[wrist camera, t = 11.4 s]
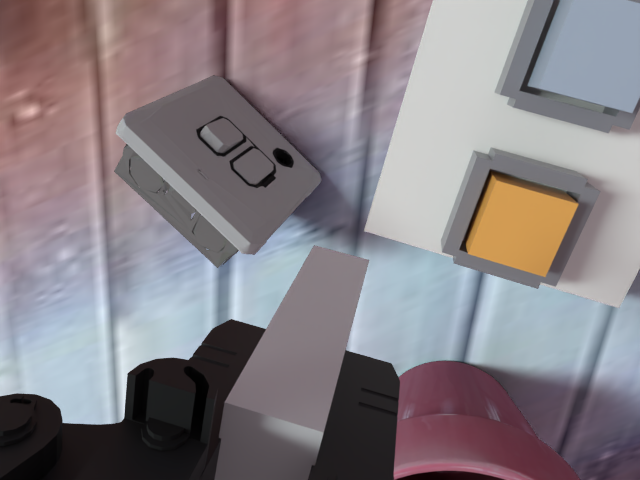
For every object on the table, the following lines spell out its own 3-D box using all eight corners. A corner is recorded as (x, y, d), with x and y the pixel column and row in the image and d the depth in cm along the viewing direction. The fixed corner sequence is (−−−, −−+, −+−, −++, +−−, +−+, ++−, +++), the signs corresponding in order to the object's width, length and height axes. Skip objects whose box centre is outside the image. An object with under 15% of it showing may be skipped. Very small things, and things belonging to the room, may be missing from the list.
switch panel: (523, -299, 24) (549, -388, 19) (864, -232, 22) (980, -310, 18) (368, 216, 33) (360, 241, 28) (601, 286, 32) (632, 325, 27)
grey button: (561, -4, 23) (578, -12, 21) (651, 18, 23) (678, 13, 20) (527, 86, 24) (538, 88, 22) (611, 108, 24) (632, 113, 22)
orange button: (489, 170, 27) (496, 180, 25) (564, 191, 27) (578, 204, 24) (464, 238, 29) (467, 254, 26) (534, 258, 28) (545, 277, 26)
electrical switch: (327, 177, 33) (280, 229, 24) (277, 227, 35) (219, 290, 27) (220, 71, 32) (133, 88, 24) (176, 130, 34) (84, 164, 26)
